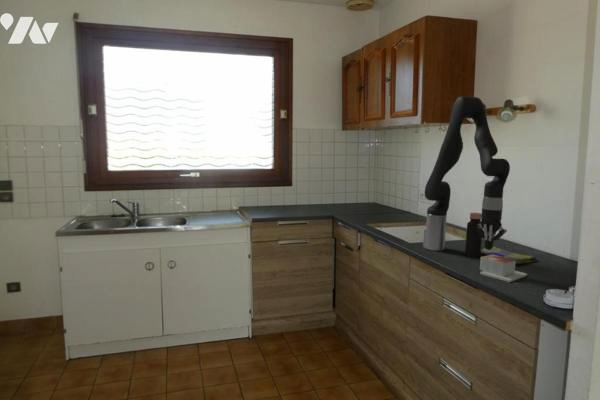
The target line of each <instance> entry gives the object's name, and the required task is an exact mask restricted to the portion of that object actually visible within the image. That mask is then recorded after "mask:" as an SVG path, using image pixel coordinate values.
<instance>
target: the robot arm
mask: <svg viewBox="0 0 600 400" xmlns="http://www.w3.org/2000/svg"><path fill="white" fill-rule="evenodd" d="M464 119H471V120H472V121H473V123H474V124H475V132H474V144H475V147H476V149H477V152H478V153H479V160H480V161H479V162H480V170H481V172H482V174H483V175H485V176H487V177H493V178H492V180H491V181H488V182H485V185H484V191H483V199H482V205H481V214H482V215H481V220H480V224H478V225H475V228H476V230H477V231H478V233H479V235H480V237H481V238H482V239H483V240H484V248H486V249H487V250H491V249H492V248H493V246H494V242H495V241H498V240H499V239H501V237H503V236H504V235H505V234H506V233H507V229H505V228H503V227H502V226H503V225H502V218H503V217H502V214H503V207H504V206H503V205H504V203H503V199H504V198H503V197H504V187H505V185H506V182H507V179H508V177H509V173H510V170H511V166H510V162H509V161H508V160H507V159H506V158H493V157H495V156H496V155H497V154H498V147H497V145H496V142H495V139H494V137H493V135H492V134H491V130H490V128H489V122H488V118H487V115H486V110H485V106H484V104H483V101H482V100H481V98H480V97H476V96H469V95H467V96H465V95H461V96H459V97H457V98H456V100H455V102H454V103H453V107H452V110H451V113H450V118H449V122H448V127H447V130H446V132H445V135H444V138H443V142H442V144H441V147H440V150H439V152H438V156H437V159H436V162H435V164H434V167H433V169H432V170H431V171H432V172H431V173H430V176H429V178H428V180H427V182H426V185H425V186H424V197H425V198H426V199H427V200H428V201H434V203H433V204H432V205H431V206H429V207H427V209H426V223H425V228H424V229H423V240H422V241H423V243H422V244H423V245H422V246H423V247H422V248H424V249H426V250H430V251H438V252H439V251H444V250H445V245H446V232H447V231H446V230H447V219H448V218H447V216H448V215H447V213H448V211H449V208H450V200H451V186H450V184H449V183H448V182H447V181H443V179H444V177H445V176H446V174H447V173H448V172H449V171H450V170H451V169H453V168H454V167H455V165H456V164H457V163H458V162H459V160H460V157H461V155H462V153H463V149H464V142H463V138H462V134H461V129H462V124H463V121H464ZM482 228H483V229H482Z"/></svg>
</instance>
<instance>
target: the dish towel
mask: <svg viewBox="0 0 600 400" xmlns="http://www.w3.org/2000/svg"><path fill="white" fill-rule="evenodd" d="M492 254H493V255H497V256H501V257H504V258H508V259H512V260H515V261H516V263H515V266H516V265H520V264H521V265H522V264H525V263H531V262H536V261H538V259H537V257H536V256H535V255H526V254H521V253H516V252H512V251H509V250H506V249H502V248H498V247H496V246H494V245H493V248H492V249H491V250H487V249H486V248H485V247H484V248H481V256H480V257H483V256H488V255H492Z"/></svg>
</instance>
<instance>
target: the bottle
mask: <svg viewBox="0 0 600 400" xmlns="http://www.w3.org/2000/svg"><path fill="white" fill-rule="evenodd" d="M481 215H482V212H470V213H469V219H470V220H469V222H467V224H466V234H465V235H466V237H465V245H464V246H465V249H464V255H465V256H466V257H468V258H469V257H470V258H481V257H482V256H481V249H482V243H483V238H481V237H480V235H479V233H478V231H477V230H476V228H475V225H478V224H480V221H481V220H482V218H481ZM482 229H483V228H482ZM483 230H484V229H483Z"/></svg>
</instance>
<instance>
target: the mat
mask: <svg viewBox="0 0 600 400" xmlns="http://www.w3.org/2000/svg"><path fill="white" fill-rule="evenodd" d="M479 275H482V276H485V277H489V278H492V279H496V280H500V281H503V282H507V283H511V282H514V281H517V280H519V279H521V278H525V277H527V276H528V273H525V272H522V271H518V270H515V273H514V274H510V275H507V276H504V277H502V276H499V275H496V274H492V273H489V272H486V271H483V270H481V271H480V272H479Z"/></svg>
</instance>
